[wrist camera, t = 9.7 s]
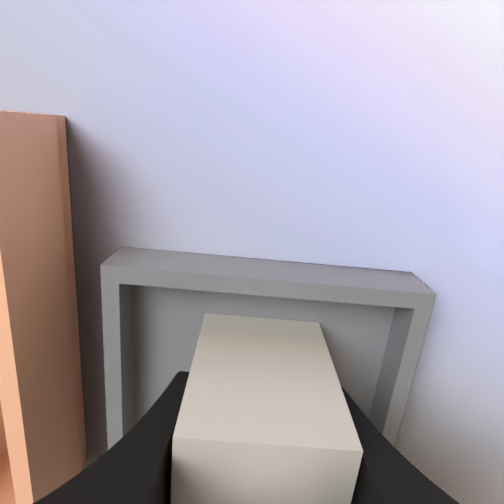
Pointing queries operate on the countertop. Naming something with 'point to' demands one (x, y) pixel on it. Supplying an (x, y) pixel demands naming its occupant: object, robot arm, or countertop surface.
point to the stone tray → (264, 306)
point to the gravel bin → (37, 312)
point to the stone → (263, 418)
